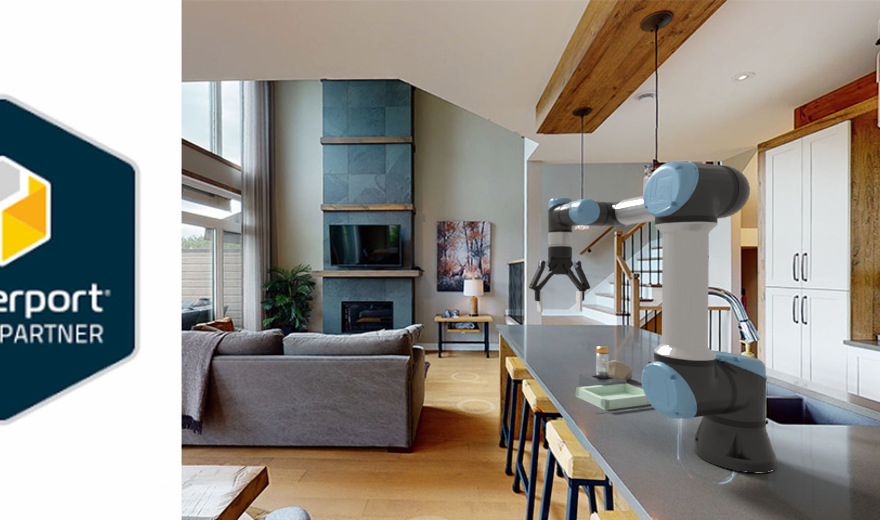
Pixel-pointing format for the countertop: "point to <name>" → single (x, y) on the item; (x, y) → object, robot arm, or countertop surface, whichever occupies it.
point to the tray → (613, 396)
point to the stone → (620, 370)
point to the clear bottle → (602, 362)
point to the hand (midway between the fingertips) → (559, 311)
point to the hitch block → (598, 380)
